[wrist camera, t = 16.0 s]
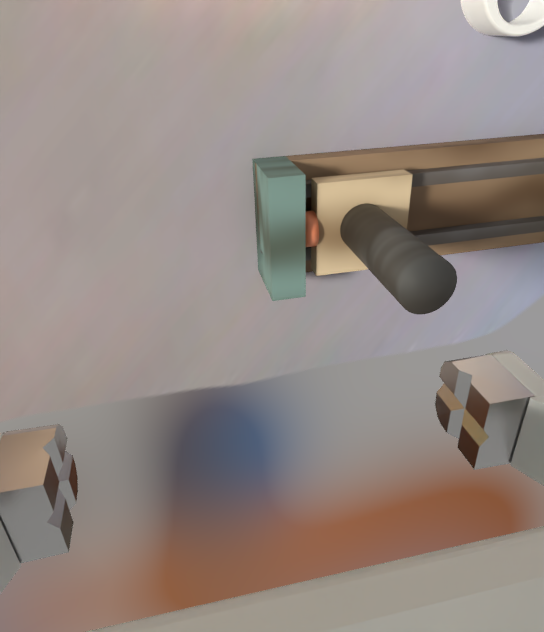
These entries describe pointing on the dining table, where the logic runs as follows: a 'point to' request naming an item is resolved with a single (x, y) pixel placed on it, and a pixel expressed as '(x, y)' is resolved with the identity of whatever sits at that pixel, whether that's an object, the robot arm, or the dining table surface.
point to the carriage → (378, 238)
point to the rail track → (425, 200)
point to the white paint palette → (487, 19)
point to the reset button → (312, 229)
